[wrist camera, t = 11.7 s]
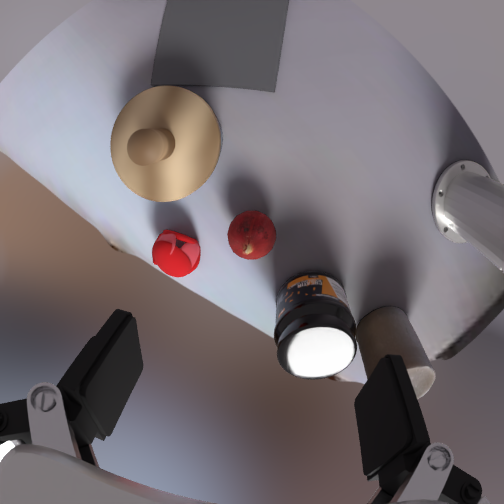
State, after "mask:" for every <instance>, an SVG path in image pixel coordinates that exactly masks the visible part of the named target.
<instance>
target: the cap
mask: <svg viewBox="0 0 504 504" xmlns="http://www.w3.org/2000/svg"><path fill="white" fill-rule="evenodd" d="M176 239H177V240H180V241H182V242H185V244H184V245H183V246H182V247H181V248H179V247H177V246H176V245H175V244H176ZM152 257H153V263H154V264H155V265H158V266H159V268H160V269H161V270H162V271H164V272H165V273H166V274H168V275H170V276H173V277H183V276H186V275H187V274H190V273H191V272H192V271H194V270H195V269H196V268H197V266H198V264H199V261H200V246H199V243H198V241H197V240H196V239H193V238H191V237H189V236H186V235H184V234H181V233H178V232H175V231H171V230H164V231H163V233H161V234H160V235H159V236H158V238H157V240H156V241H155V243H154V245H153V248H152Z"/></svg>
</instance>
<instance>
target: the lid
mask: <svg viewBox="0 0 504 504" xmlns="http://www.w3.org/2000/svg"><path fill="white" fill-rule="evenodd" d="M220 150H221V132H220V127H219V123H218V120H217V118H216V116H215V114H214V112H213V110H212V109H211V107H210V106H209V105H208V104H207V103H206V102H205V101H204V99H202V98H201V97H200V96H198V95H197V94H195V93H193V92H192V91H189V90H187V89H184V88H181V87H176V86H157V87H153V88H150V89H147V90H145V91H143V92H141V93H139V94H138V95H136V96H135V97H133V98H132V99H131V100H130V101H129V102H128V103H127V104H126V105H125V106H124V108H123V109H122V110H121V112H120V113H119V115H118V117H117V119H116V121H115V124H114V127H113V130H112V135H111V157H112V161H113V164H114V167H115V170H116V172H117V174H118V176H119V177H120V179H121V180H122V182H123V183H124V184H125V185H126V186H127V187H128V188H129V189H130V190H131V191H132V192H134V193H135V194H137V195H139V196H141V197H143V198H145V199H148V200H151V201H156V202H170V201H175V200H179V199H181V198H184V197H186V196H188V195H190V194H191V193H193V192H194V191H196V190H197V189H198V188H200V187H201V186H202V185H203V184H204V183H205V182H206V181H207V179H208V178H209V177H210V175H211V174H212V172H213V171H214V169H215V167H216V164H217V162H218V159H219V155H220Z"/></svg>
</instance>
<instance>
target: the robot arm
mask: <svg viewBox="0 0 504 504" xmlns="http://www.w3.org/2000/svg"><path fill="white" fill-rule="evenodd" d="M432 212H433V218H434V221H435V224H436V226H437V228H438V230H439V231H440V232H441V234H442V235H443V236H445V237H446V238H447V239H448V240H450V241H452V242H455V243H466V242H468V243H469V244H471V245H472V246H473V247H474V248H476V249H477V250H478V251H479V252H480V253H481V254H483V255H484V256H485V257H486V258H487V259H488V260H490V261H491V262H492V263H493V264H494V265H495V266H496V267H497V268H499V269H500V270H501V271H502V272H503V273H504V184H502V183H500V182H497V181H495V180H492V179H491V178H490V176H489V174H488V172H487V171H486V170H485V169H484V168H483V167H482V166H481V165H479V164H478V163H476V162H473V161H469V160H460V161H457V162H454V163H453V164H451V165H450V166H448V167H447V168H446V169H445V170H444V171H443V173H442V174H441V176H440V177H439V179H438V181H437V184H436V186H435V189H434V193H433V199H432ZM142 370H143V360H142V355H141V349H140V344H139V337H138V330H137V324H136V319H135V318H134V317H133V316H132V314H131V313H130V312H127V311H123V310H120V309H116V310H115V311H114V312H113V314H112V315H111V316H110V317H109V319H108V320H107V321H106V323H105V324H104V325H103V327H102V328H101V329H100V330H99V332H98V333H97V335H96V336H94V337H92V338H91V339H90V340H89V341H88V342H87V344H86V345H85V347H84V348H83V349H82V351H81V352H80V353H79V355H78V356H77V357H76V359H75V360H74V362H73V363H72V364H71V366H70V367H69V369H68V370H67V371H66V373H65V374H64V376H63V377H62V378H61V380H60V382H59V383H58V384H57V386H55V385H53V384H51V383H39V384H37V385H35V386H34V387H32V388H31V390H30V391H29V393H28V395H27V399H23V400H17V401H12V402H8V403H2V404H0V504H216V503H211V502H205V501H201V500H196V499H191V498H187V497H183V496H179V495H175V494H171V493H168V492H164V491H161V490H158V489H154V488H151V487H148V486H145V485H142V484H139V483H136V482H134V481H131V480H128V479H126V478H123V477H120V476H117V475H115V474H113V473H110V472H108V471H105V470H103V469H101V468H100V467H99V465H98V462H97V459H96V457H95V454H94V451H93V448H92V445H91V443H92V442H93V440H94V438H95V437H96V438H98V439H101V440H103V441H104V440H105V438H106V436H110V435H111V434H112V432H113V430H114V428H115V425H116V423H117V421H118V419H119V417H120V415H121V413H122V411H123V409H124V407H125V405H126V402H127V400H128V398H129V396H130V394H131V392H132V390H133V388H134V386H135V384H136V382H137V380H138V378H139V376H140V374H141V372H142ZM354 406H355V413H356V419H357V426H358V433H359V440H360V446H361V455H362V464H363V472H364V475H366V476H367V480H368V481H373V480H379V485H380V486H379V488H378V489H377V490H376V492H375V493H374V495H373V496H372V497H371V499H370V500H369V501H368V503H367V504H490V502H489V501H488V500H487V498H486V497H485V496H483V497H481V494H482V488H481V484H480V483H479V481H478V480H477V479H476V478H474V477H472V476H471V475H469V474H467V473H466V472H464V471H462V470H461V469H459V468H458V467H456V466H454V465H453V462H454V457H453V453H452V451H451V450H450V448H449V447H448V446H446V445H445V444H442V443H433V444H431V443H430V438H429V435H428V431H427V428H426V425H425V422H424V418H423V415H422V412H421V409H420V406H419V403H418V400H417V397H416V394H415V391H414V388H413V385H412V382H411V380H410V377H409V374H408V371H407V369H406V366H405V364H404V361H403V358H402V356H401V355H392V354H387V355H385V357H384V358H381V359H380V360H379V362H378V364H377V366H376V367H375V369H374V370H373V372H372V374H371V375H370V377H369V379H368V380H367V382H366V383H365V385H364V386H363V388H362V389H361V391H360V393H359V394H358V396H357V397H356V399H355V404H354Z"/></svg>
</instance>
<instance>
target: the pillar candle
mask: <svg viewBox="0 0 504 504" xmlns="http://www.w3.org/2000/svg"><path fill="white" fill-rule="evenodd" d="M355 335H356V340H357V342H358V345H359V349H360V353H361V356H362V360H363V363H364V367H365V371H366V375H367V379H369V377H370V375H371V374H372V372H373V370H374V369H375V367H376V366H377V364H378V362H379V360H380V359H381V358H384V357H385V355H387V354H392V355H401V356H402V358H403V361H404V364H405V366H406V369H407V371H408V374H409V377H410V380H411V382H412V385H413V388H414V391H415V394H416V397H417V399H418V398H420V397H422V396H423V395H424V394H425V393H426V392H428V390H429V389H430V388H431V386H432V384H433V383H434V379H435V378H436V377H435V371H434V369H433V367H432V365H431V363H430V361H429V359H428V357H427V355H426V353H425V351H424V349H423V347H422V345H421V343H420V340H419V338H418V336H417V334H416V332H415V331H414V329H413V327H412V325H411V323H410V321H409V319H408V318H407V316H406V314H405V313H404V312H403V311H402V310H401V309H400V308H397V307H393V306H387V307H382V308H378V309H376V310H374V311H372V312H371V313H369V314H368V315H367V316H365V317H364V318H363V319H362V320H361V321H360V323H359V324H358V326H357V329H356V334H355Z"/></svg>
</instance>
